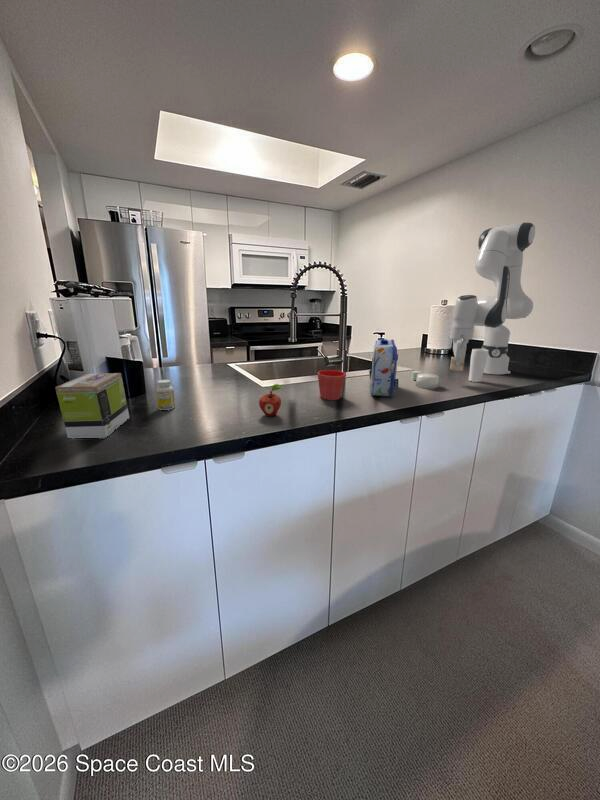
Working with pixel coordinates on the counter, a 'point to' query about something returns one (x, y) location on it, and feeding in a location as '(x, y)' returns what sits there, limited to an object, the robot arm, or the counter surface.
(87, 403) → the tea box
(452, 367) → the maple cube
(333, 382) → the flower pot
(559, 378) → the counter surface
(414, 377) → the sage block
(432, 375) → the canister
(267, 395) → the apple
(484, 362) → the white tall block
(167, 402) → the supplement bottle
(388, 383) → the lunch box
